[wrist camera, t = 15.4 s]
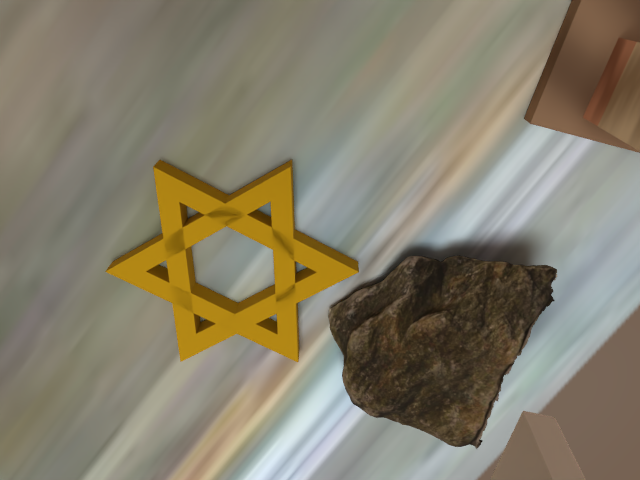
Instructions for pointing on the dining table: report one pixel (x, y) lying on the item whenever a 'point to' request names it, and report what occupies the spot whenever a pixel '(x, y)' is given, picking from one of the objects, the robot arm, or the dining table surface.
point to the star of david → (245, 219)
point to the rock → (438, 340)
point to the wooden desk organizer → (593, 75)
